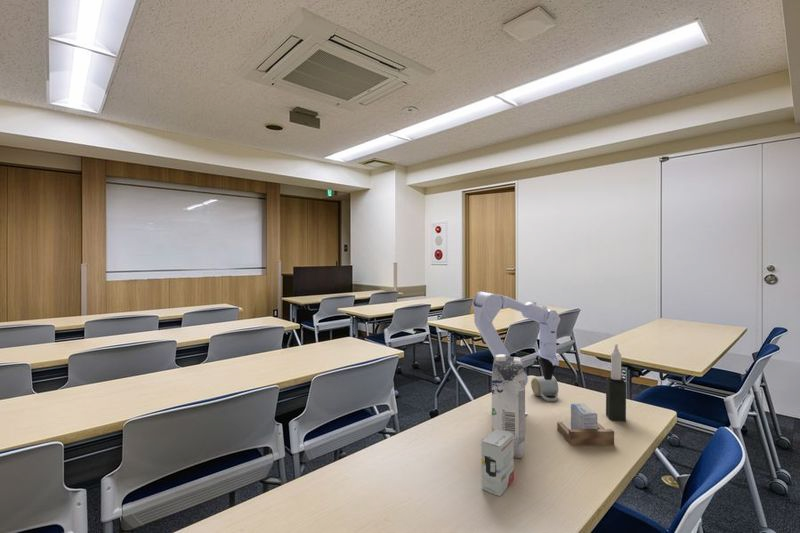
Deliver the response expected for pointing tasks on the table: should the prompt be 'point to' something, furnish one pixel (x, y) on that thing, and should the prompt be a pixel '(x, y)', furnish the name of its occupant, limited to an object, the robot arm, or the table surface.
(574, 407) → the medicine box
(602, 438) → the holder
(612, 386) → the candle
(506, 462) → the ink box
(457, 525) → the table surface
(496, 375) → the juice carton
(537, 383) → the ceramic mug
